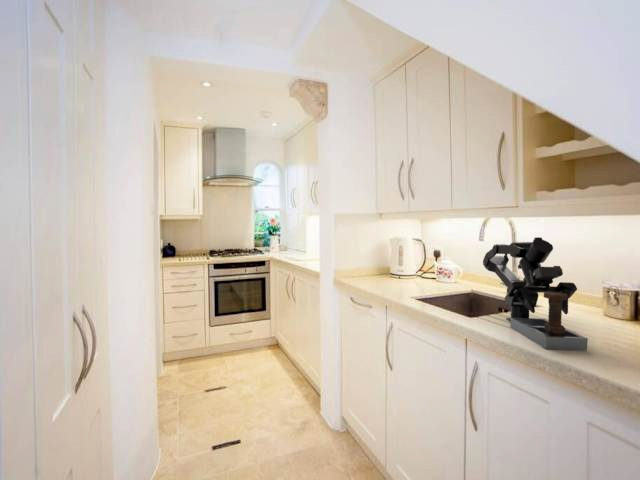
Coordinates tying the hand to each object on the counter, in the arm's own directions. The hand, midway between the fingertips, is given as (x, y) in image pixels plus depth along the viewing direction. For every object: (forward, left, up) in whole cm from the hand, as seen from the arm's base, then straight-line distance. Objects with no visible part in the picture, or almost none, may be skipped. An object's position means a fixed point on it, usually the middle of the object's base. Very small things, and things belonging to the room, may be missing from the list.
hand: (550, 313), depth 99 cm
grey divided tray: (-2, 0, -8) cm, 9 cm away
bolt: (+2, 0, -9) cm, 9 cm away
